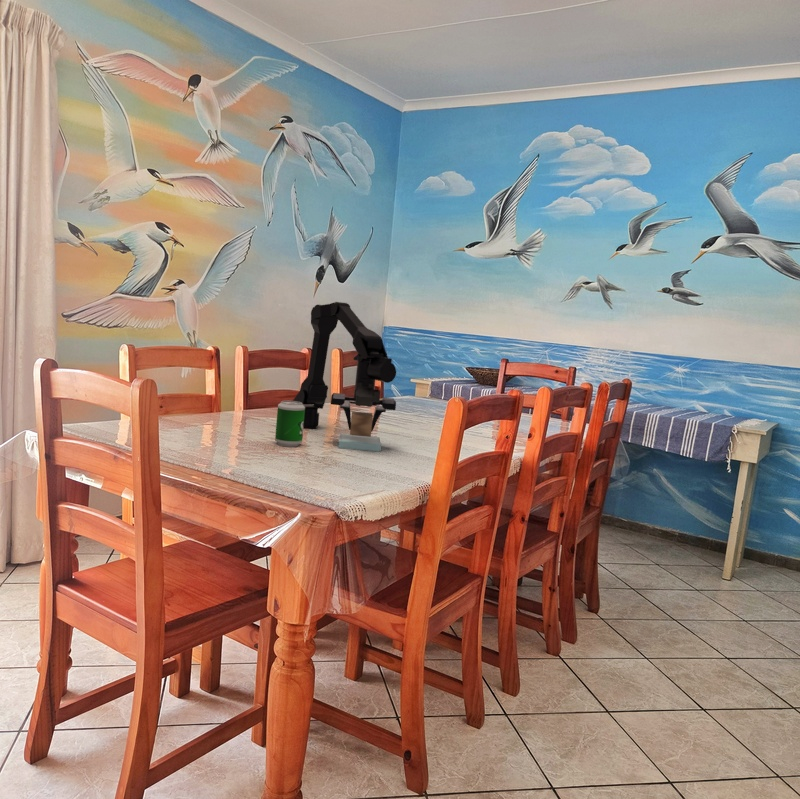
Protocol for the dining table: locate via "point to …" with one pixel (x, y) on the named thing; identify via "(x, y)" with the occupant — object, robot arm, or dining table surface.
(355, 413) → the walnut cube
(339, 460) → the dining table surface
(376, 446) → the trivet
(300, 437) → the soda can
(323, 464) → the dining table surface
